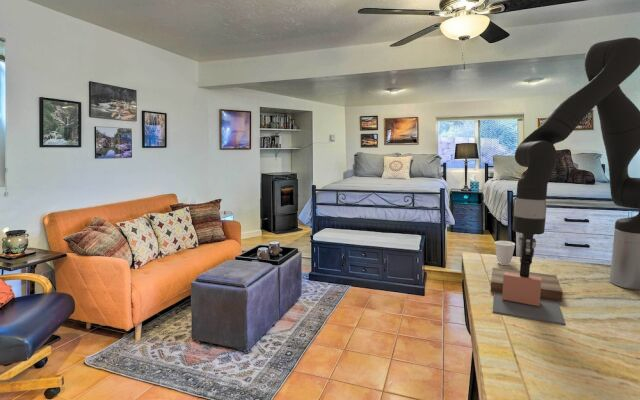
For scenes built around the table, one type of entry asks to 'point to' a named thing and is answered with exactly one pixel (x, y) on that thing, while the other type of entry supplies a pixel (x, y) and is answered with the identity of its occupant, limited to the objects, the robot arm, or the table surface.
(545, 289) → the platform
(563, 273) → the table surface
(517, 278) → the block
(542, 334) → the table surface
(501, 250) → the cup
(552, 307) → the mat
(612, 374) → the table surface
